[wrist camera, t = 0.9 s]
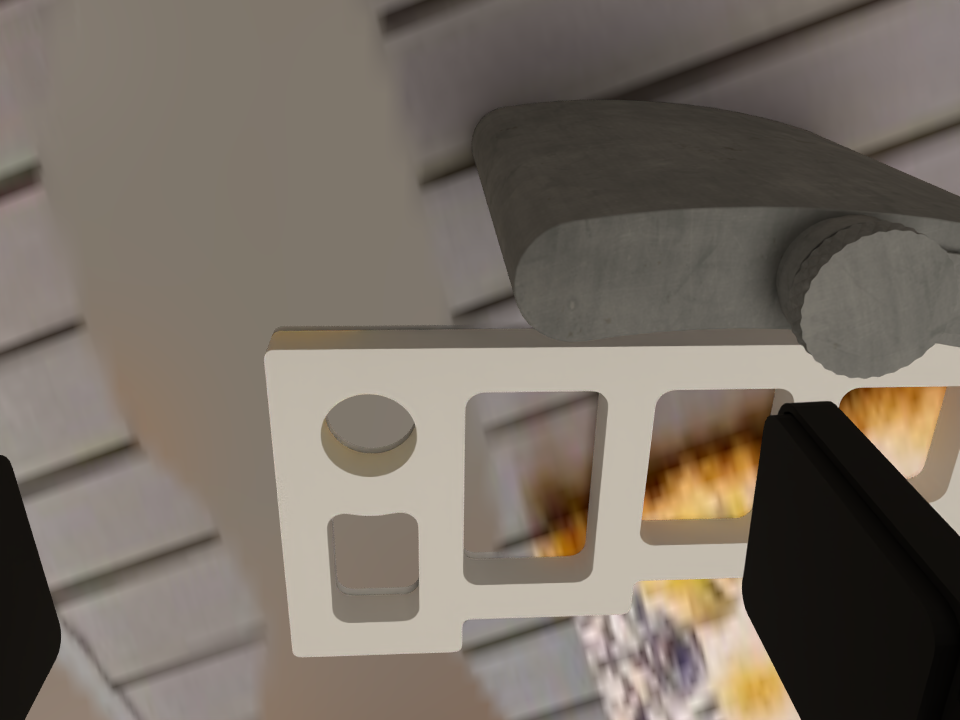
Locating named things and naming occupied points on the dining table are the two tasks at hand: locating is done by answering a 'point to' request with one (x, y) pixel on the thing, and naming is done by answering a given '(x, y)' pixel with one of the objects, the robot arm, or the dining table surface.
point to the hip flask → (717, 231)
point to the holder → (441, 456)
